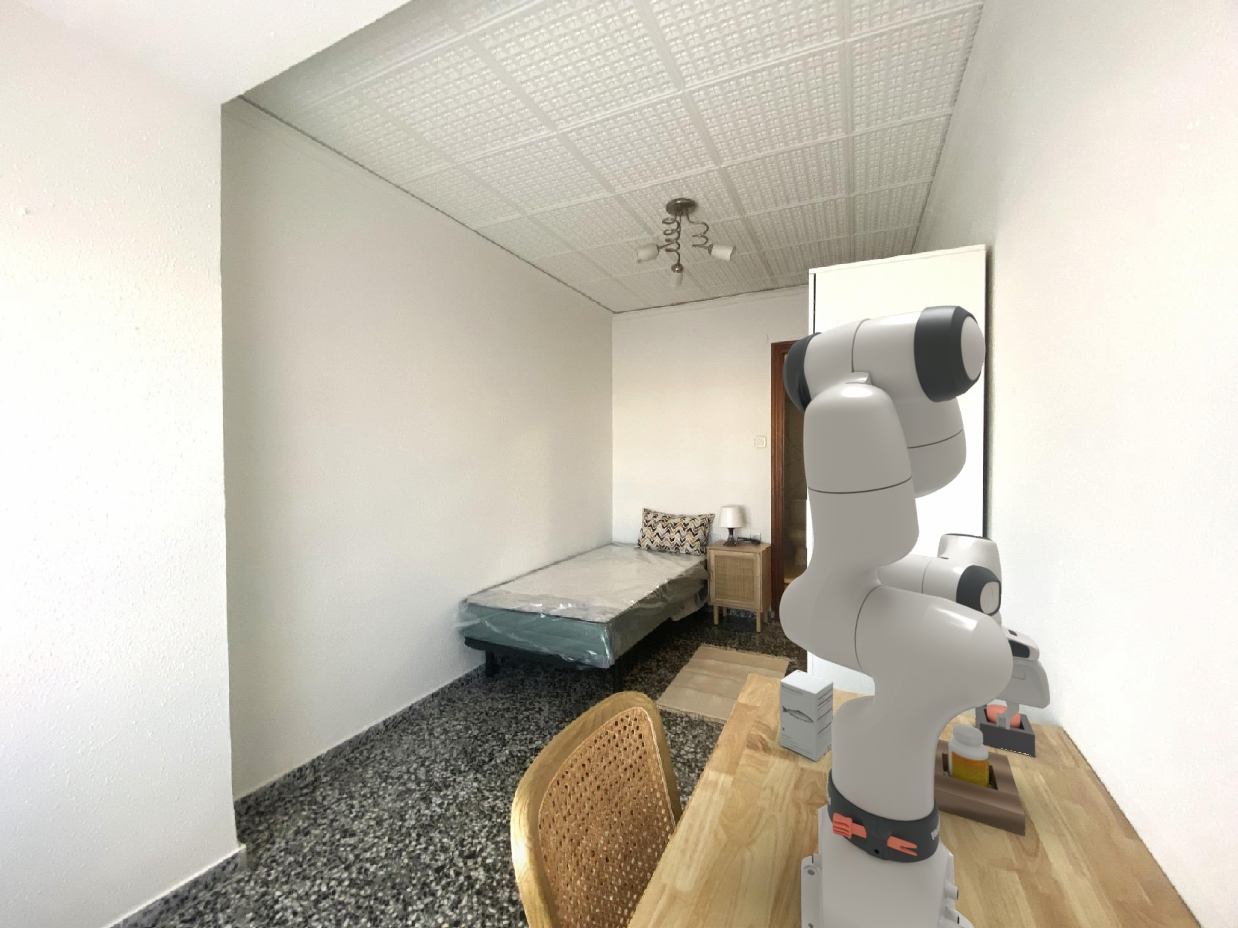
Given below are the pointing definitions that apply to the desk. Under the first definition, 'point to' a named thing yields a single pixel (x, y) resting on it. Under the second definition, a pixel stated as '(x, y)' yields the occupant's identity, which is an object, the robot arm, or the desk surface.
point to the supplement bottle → (968, 756)
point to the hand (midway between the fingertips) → (966, 718)
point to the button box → (1006, 733)
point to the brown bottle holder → (980, 793)
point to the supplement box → (806, 714)
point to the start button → (1000, 709)
